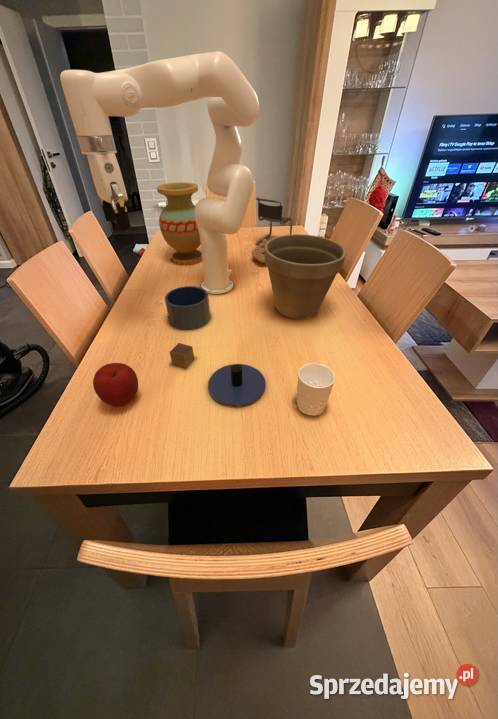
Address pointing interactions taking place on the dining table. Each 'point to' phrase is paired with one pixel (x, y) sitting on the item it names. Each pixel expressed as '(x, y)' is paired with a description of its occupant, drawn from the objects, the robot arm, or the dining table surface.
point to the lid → (237, 385)
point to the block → (182, 355)
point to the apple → (116, 384)
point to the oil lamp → (260, 252)
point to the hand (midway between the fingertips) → (118, 224)
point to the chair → (272, 214)
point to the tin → (188, 307)
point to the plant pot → (302, 272)
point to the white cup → (314, 388)
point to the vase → (180, 222)
